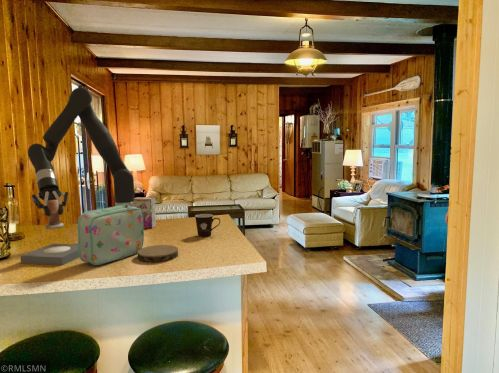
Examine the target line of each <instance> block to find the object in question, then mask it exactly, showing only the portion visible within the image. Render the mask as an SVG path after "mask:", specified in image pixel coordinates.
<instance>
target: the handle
mask: <svg viewBox="0 0 499 373" xmlns="http://www.w3.org/2000/svg"><path fill="white" fill-rule="evenodd" d="M47 206H48V209H49V216H47V217H48V219H47V220H48V223H46V224H45V229H46V230H55V229H61V228H63V227H65V226H64V223H63V222H61V219H60V216H61V215H60V214H59V202H58V200H48V201H47Z"/></svg>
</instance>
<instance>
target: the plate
mask: <svg viewBox="0 0 499 373" xmlns="http://www.w3.org/2000/svg"><path fill="white" fill-rule="evenodd" d="M76 259H80V257H79V254H78V243H77V244H74V243H73V244H72V243H51V244H48V245H45V246H43V247H40V248H38V249H34V250H31V251H29V252H26V253H24V254H22V255H21V254H20V264H27V265H29V264H31V265H32V264H33V265H49V266H50V265H52V266H53V265H54V266H64V265H66V264H68V263H70V262H72V261H74V260H76Z"/></svg>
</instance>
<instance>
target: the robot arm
mask: <svg viewBox="0 0 499 373" xmlns="http://www.w3.org/2000/svg"><path fill="white" fill-rule="evenodd" d="M92 101H93V96H92V93H91V91H90V90H89V89H88V88H85V87H83V86H81V87H76V88H75V89H73V90H72V91H71V93H70V94H69V96H68V101H67V103H66V105H65V107H64V108H63V110H62V111H61V112H60V113H59V115H58V116H57V117H56V118H55V119H54V121H53V122H52V123H51V124H50V126H49V127H48V129H47V130H46V131H45V133H44V134H43V136H42V139H43V141H44V142H45V146H44V145H42V144H40V143H32V144H31V145H29V147H28V149H27V155H28V156H27V157H28V159H29V161H30V163H31V165H32V166H33V167H34V172H35V178H36V179H35V180H36V185H37V190H38V194H34V193H33V194H32V195H31V201H32V202H33V203H34V204H35V206H36V208H37V209H39V210H41V209H43V212H44V213H43V214H44V215H45V216H46V217H48V216H49V209H48V206H47V201H48V200H58V202H59V216H61V215H63V214H64V207H67V203H68V197H69V192H68V191H65V192H62V191H61V190H60V186H59V183H58V178H57V175H56V173H55V170H54V166H53V164H52V162H53V161H54V158H55V156H56V154H57V151H58V148H59V145H60V143H61V141H63V139H64V137H65V136H66V134H67V133H68V132H69V130H70V129H71V127H72V125H73V124H74V122H75V120H76V119H77V118H78V117H79V118H80V120H81V123H82V124H83V126H84V127H83V128H85V132H86V133H87V135H88V136H89V138H90V140H91V141H90V142H92V144H93V146H94V148H95V149H96V152H98V154H99V156H100V157H101V158H102V159H103V161H104V162H105V164H106V165H107V167H108V168H109V172H110V174H111V175H112V178H113V192H114V194H113V196H114V206H118V205H122V204H128V206H131V207H135V205H134V198H135V182H134V176H133V173H132V172H131V171H130V170H129V169H128V167H127V165H126V164H125V162H124V161H123V159H122V158H121V155H120V152H119V149H118V147H117V145H116V143H115V140H114V139H113V137H112V134H111V132H110V131H109V129H108V128H107V127H106V126H105V124H104V123H103V122H102V121H101V119H100V118H98V116H97V114H96V112H95V110H94V108H93V107H92ZM61 197H62V198H63V200H61ZM39 199H41V200H42V201H43V203H42V202H41V200H39Z"/></svg>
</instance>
